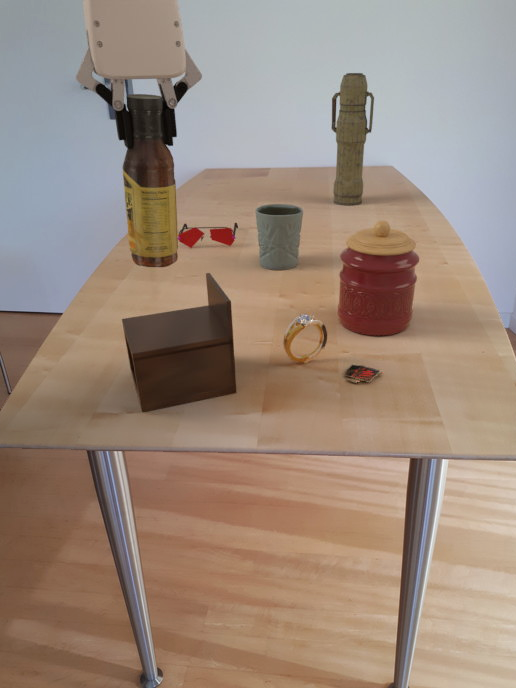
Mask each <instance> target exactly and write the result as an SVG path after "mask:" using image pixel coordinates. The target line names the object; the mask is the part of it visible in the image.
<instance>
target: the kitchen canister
mask: <svg viewBox="0 0 516 688" xmlns="http://www.w3.org/2000/svg"><path fill="white" fill-rule="evenodd" d="M345 244H346V246H347V247H346V248H345V249H343V250H341V253H340V254H339V256H340V260H341V262H342V268H341V270H340V271H339V275H338V276H339V293H338V294H339V296H338V304H337V315H338V321H339V324H340V325H342V327H344V328H346V329H347V330H349V331H351V332H354V333H357V334H361V335H365V336H375V337H376V335H377V336H380V335H382V336H390V335H396V334H399V333H401V332H404V331H405V330H406V329H407V328H408V327H409V326H410V324H411V321H412V319H413V313H414V309H413V306H414V305H413V304H414V297H415V290H416V283H417V281H418V275H417V274H416V266H417V265H418V264H419V262H420V256H419V254H418V253H417V252H416V251H415V248H416V246H417V242H416V241H415V240H414V239H413V238H411V237H409V235H408V234H406V232H404V231H401V230H398V229H394V228H391V225H390V224H389V222H388V221H386V220H378V221H377V222H376V223H375V224H374V226H373V227H369V228H363V229H361V230H358V231H357V232H355V233H354V234H353V235H350V236H349V237H347V238H346V241H345ZM398 332H399V333H398ZM395 333H396V334H395ZM380 337H381V336H380Z"/></svg>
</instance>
